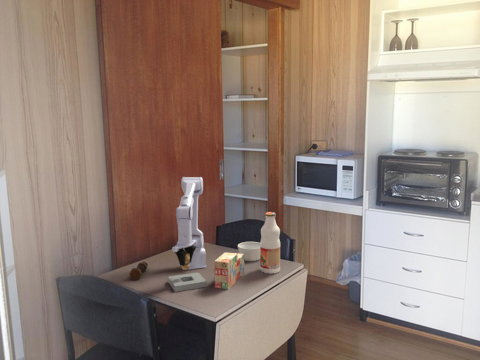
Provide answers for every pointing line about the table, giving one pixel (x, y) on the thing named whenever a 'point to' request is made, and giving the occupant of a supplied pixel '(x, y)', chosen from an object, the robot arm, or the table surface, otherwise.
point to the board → (187, 281)
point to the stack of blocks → (228, 269)
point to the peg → (186, 262)
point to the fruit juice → (270, 245)
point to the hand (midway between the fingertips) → (185, 263)
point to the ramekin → (250, 250)
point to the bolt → (138, 271)
